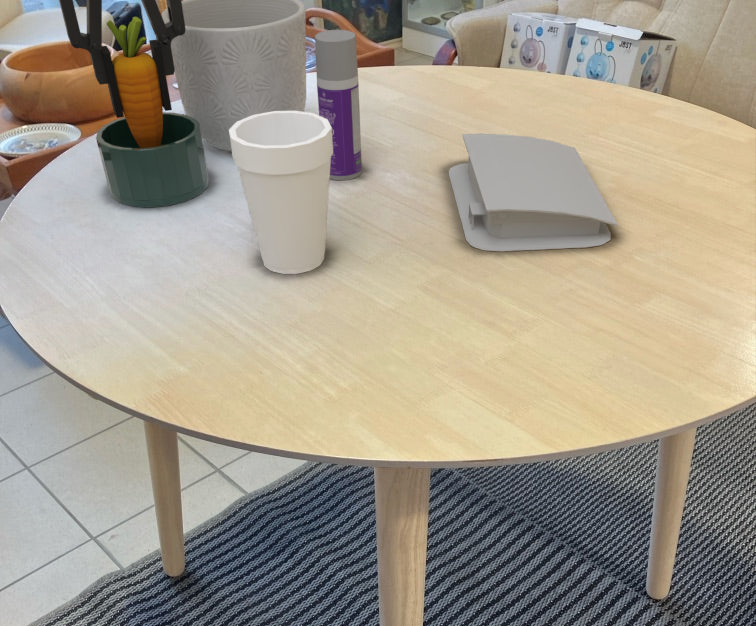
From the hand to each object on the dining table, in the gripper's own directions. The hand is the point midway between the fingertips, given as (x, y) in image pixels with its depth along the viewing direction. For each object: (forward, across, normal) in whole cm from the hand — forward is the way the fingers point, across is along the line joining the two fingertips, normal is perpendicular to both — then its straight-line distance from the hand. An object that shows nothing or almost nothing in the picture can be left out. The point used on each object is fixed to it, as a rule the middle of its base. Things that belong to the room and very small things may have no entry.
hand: (142, 109), depth 96 cm
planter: (+9, +14, +9) cm, 19 cm away
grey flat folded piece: (+9, +38, -22) cm, 44 cm away
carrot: (+6, 0, 0) cm, 6 cm away
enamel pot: (+9, 0, 0) cm, 9 cm away
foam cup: (+9, +10, -24) cm, 27 cm away
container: (+9, +21, -5) cm, 24 cm away
